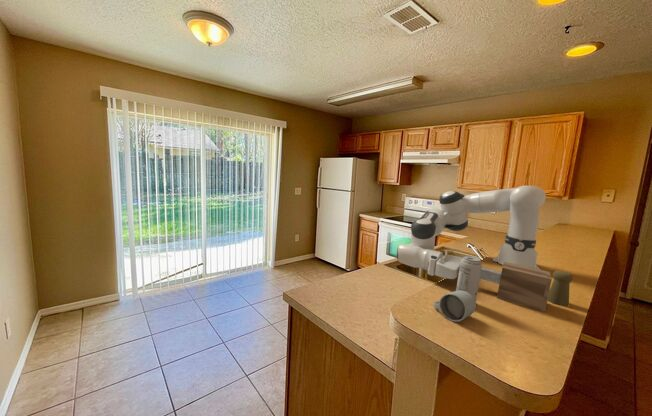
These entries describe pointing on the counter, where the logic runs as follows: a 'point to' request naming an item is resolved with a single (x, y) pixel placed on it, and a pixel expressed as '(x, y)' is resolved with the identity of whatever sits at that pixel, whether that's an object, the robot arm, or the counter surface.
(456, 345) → the counter surface
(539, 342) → the counter surface
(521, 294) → the block
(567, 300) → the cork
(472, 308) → the ceramic mug
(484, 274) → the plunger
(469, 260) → the energy drink can
